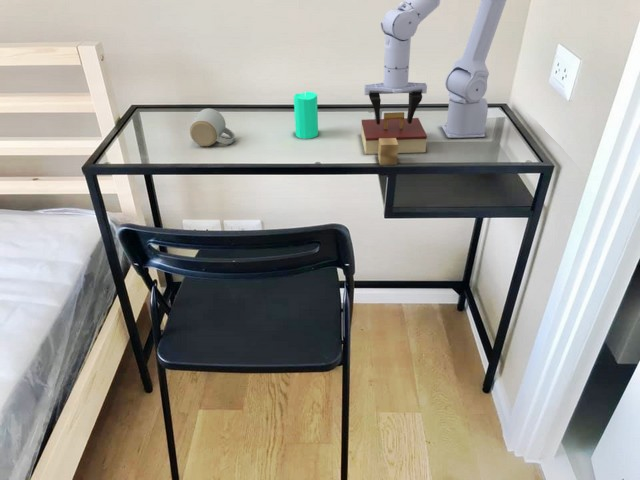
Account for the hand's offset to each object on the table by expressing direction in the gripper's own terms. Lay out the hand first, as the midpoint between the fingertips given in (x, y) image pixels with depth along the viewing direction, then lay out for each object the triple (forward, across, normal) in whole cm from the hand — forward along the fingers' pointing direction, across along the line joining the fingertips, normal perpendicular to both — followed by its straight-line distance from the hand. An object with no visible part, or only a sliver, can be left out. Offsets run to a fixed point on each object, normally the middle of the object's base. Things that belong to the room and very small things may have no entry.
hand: (393, 122), depth 130 cm
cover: (+2, 0, +1) cm, 2 cm away
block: (+6, -2, -10) cm, 12 cm away
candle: (+6, -21, +9) cm, 24 cm away
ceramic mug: (+6, -45, +6) cm, 46 cm away
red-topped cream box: (+6, 0, +1) cm, 6 cm away
